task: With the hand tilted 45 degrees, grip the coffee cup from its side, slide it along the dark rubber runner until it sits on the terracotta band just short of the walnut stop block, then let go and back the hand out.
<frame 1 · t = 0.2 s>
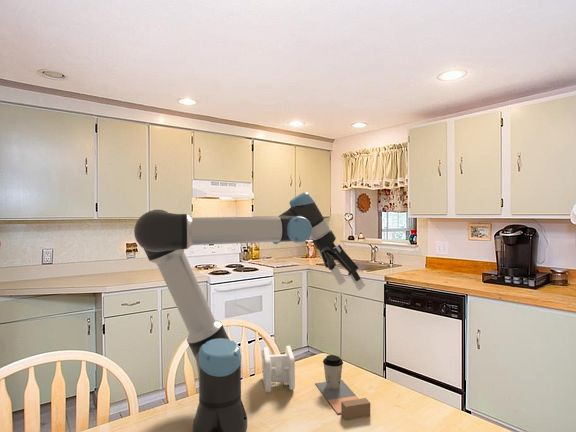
hand: (351, 285, 131), 35 cm above the table, tool tilted 30°, fingers open, 13 cm apart
coffee cup: (333, 387, 129), resting on runner
runner: (339, 395, 123), on the table
cable organizer: (277, 385, 131), on the table
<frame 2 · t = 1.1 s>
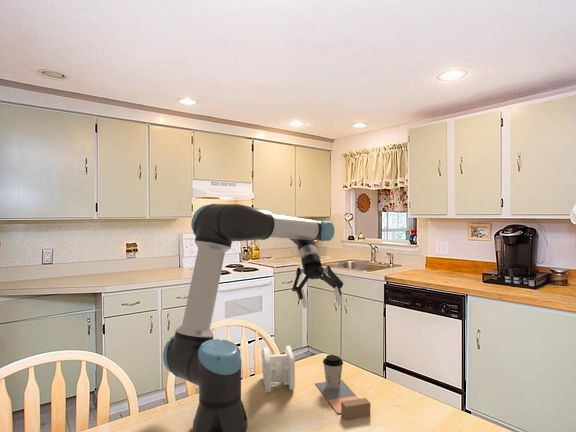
hand: (323, 305, 138), 26 cm above the table, tool tilted 45°, fingers open, 13 cm apart
nothing on the table moved.
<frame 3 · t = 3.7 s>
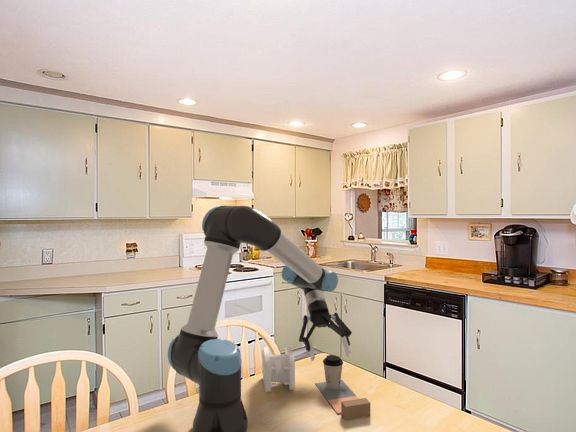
hand: (331, 357, 133), 9 cm above the table, tool tilted 45°, fingers open, 13 cm apart
nothing on the table moved.
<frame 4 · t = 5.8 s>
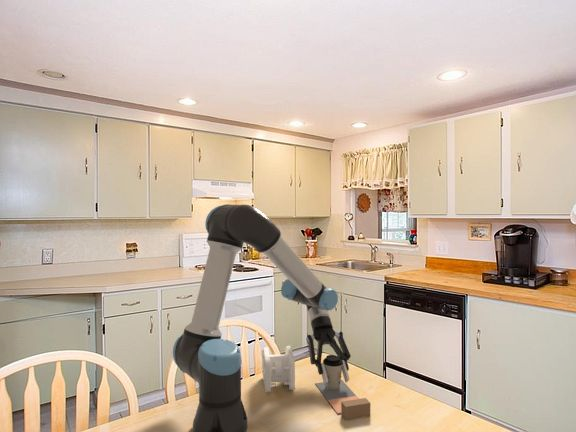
hand: (336, 382, 126), 3 cm above the table, tool tilted 45°, fingers closed on coffee cup, 7 cm apart
coffee cup: (333, 387, 129), resting on runner, touching gripper
everything else where it was.
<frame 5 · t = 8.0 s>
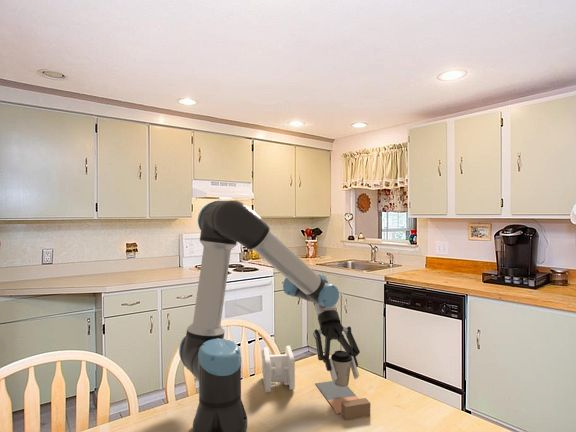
hand: (345, 378, 120), 7 cm above the table, tool tilted 45°, fingers closed on coffee cup, 7 cm apart
coffee cup: (341, 384, 124), point 4 cm above the table, touching gripper
everything else where it was.
when the fingers open (5 cm above the table, at t = 10.1 s): coffee cup drops 1 cm, resting on runner.
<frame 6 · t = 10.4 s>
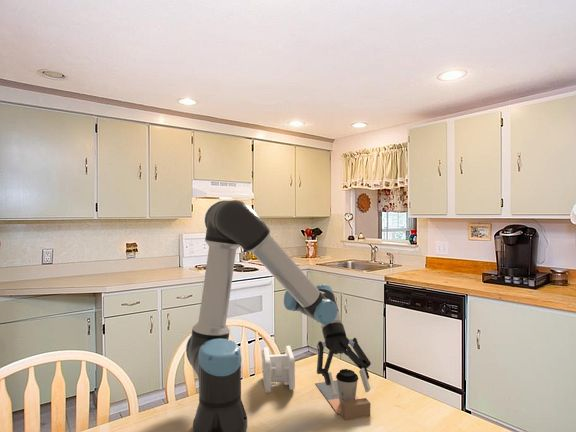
hand: (351, 393, 115), 5 cm above the table, tool tilted 45°, fingers open, 10 cm apart
coffee cup: (346, 404, 118), resting on runner
everything else where it was.
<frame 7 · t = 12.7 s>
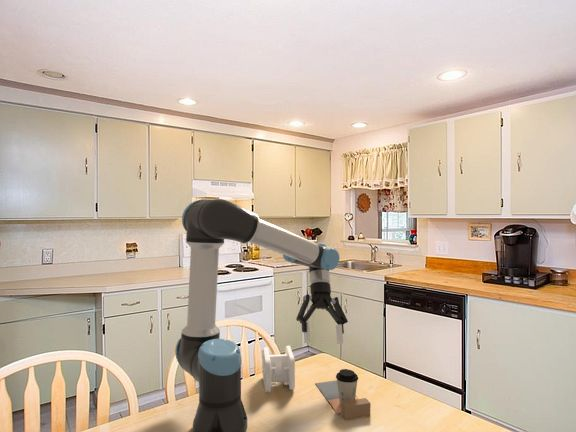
hand: (324, 343, 131), 15 cm above the table, tool tilted 25°, fingers open, 13 cm apart
nothing on the table moved.
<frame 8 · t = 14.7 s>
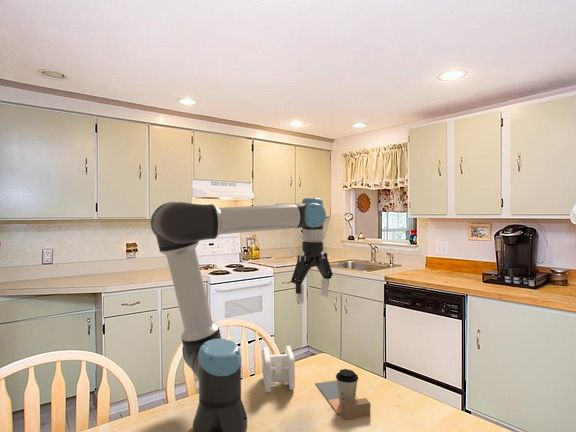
hand: (312, 299, 136), 29 cm above the table, tool pointing down, fingers open, 13 cm apart
nothing on the table moved.
at the end: coffee cup inside the target area (0.2 cm from its centre), resting on runner; coffee cup tilted 0°; the gripper is holding nothing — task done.
